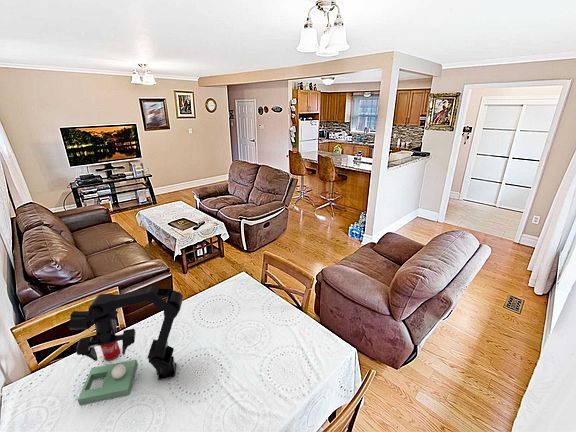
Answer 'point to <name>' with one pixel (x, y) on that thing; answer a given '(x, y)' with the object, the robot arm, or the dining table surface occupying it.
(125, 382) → the green shape sorter board
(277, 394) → the dining table surface
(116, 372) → the ball
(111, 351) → the beverage can
